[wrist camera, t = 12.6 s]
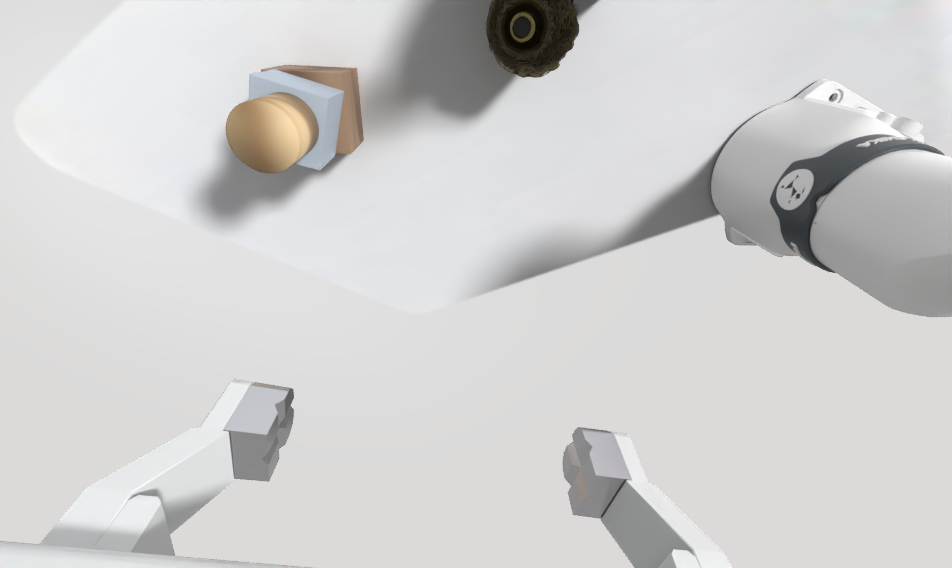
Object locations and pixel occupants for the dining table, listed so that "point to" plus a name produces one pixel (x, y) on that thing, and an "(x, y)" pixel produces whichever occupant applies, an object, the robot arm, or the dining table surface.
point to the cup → (532, 34)
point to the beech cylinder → (272, 131)
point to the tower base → (351, 111)
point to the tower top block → (317, 98)
